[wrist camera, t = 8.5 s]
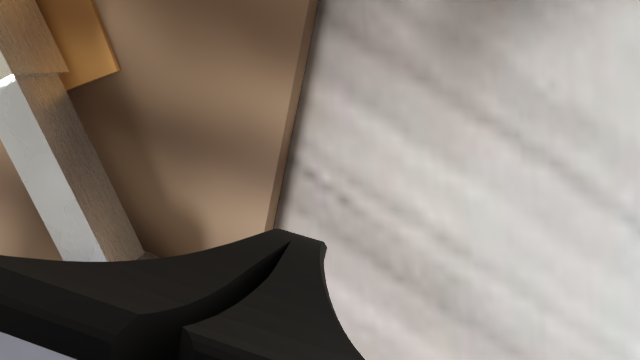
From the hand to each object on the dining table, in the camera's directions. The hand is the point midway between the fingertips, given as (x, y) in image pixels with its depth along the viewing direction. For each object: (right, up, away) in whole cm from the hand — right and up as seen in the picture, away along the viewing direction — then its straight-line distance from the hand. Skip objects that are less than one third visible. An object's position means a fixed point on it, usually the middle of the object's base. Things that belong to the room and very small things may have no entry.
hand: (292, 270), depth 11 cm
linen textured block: (-10, +4, +9) cm, 14 cm away
